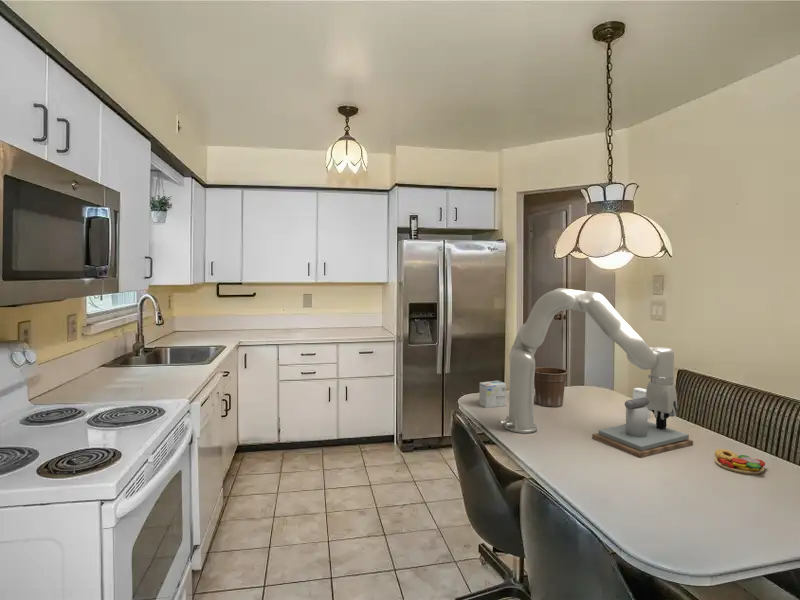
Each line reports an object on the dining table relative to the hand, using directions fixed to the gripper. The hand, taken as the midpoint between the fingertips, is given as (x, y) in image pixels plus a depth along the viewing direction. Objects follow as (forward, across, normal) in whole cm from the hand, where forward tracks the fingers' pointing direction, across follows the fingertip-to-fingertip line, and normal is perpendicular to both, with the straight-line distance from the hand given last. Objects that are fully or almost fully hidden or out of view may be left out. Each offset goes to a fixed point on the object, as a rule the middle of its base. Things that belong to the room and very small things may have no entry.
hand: (661, 428), depth 173 cm
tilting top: (+1, 0, -10) cm, 10 cm away
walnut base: (+3, 0, -10) cm, 11 cm away
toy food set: (+4, +28, -1) cm, 28 cm away
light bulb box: (+3, -61, -32) cm, 69 cm away
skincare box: (+4, -20, +16) cm, 26 cm away
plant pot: (+3, -52, -6) cm, 53 cm away
